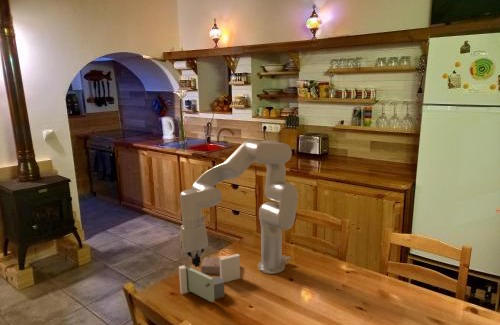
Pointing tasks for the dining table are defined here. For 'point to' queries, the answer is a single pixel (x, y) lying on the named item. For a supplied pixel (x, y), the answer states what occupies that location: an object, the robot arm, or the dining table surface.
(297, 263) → the dining table surface
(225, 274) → the wall frame
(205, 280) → the door
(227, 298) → the dining table surface
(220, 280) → the grey block
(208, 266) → the brick
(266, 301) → the dining table surface
